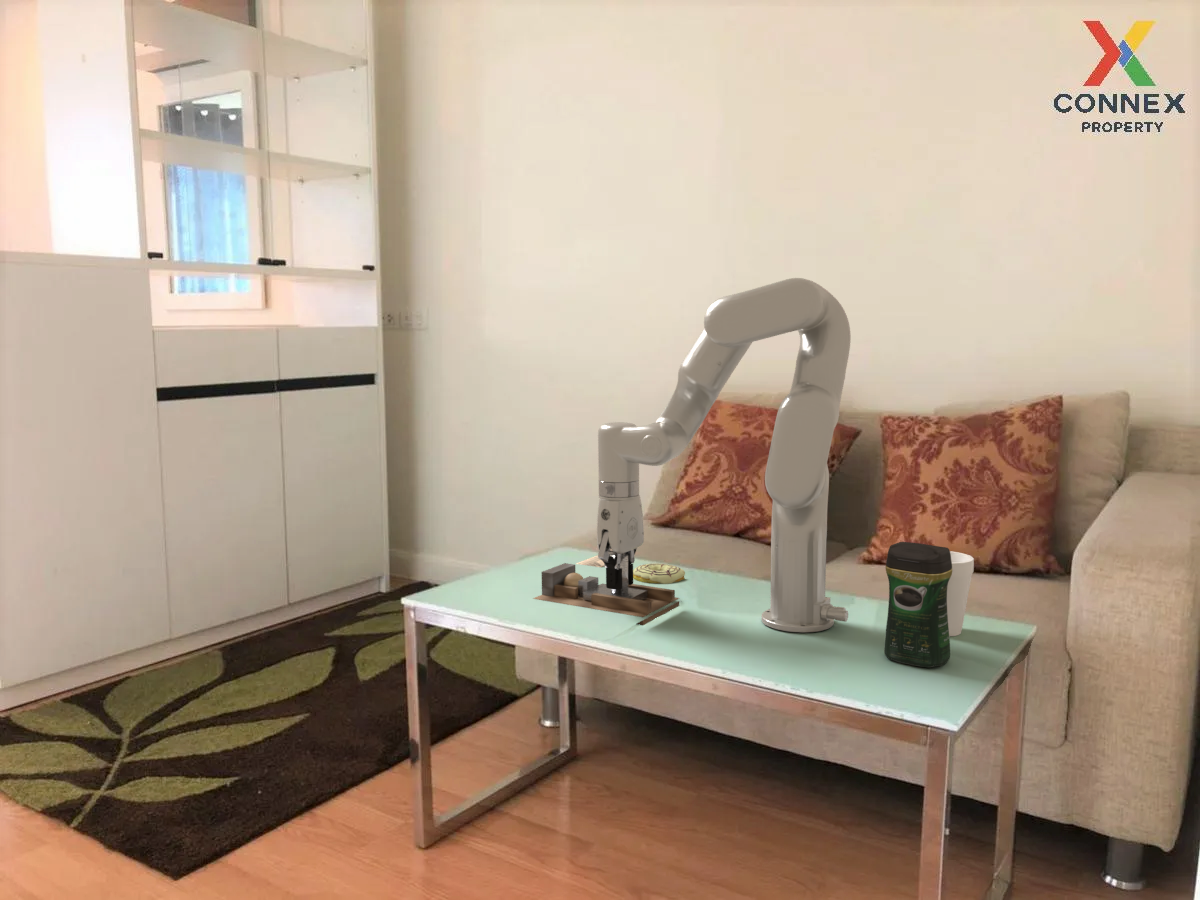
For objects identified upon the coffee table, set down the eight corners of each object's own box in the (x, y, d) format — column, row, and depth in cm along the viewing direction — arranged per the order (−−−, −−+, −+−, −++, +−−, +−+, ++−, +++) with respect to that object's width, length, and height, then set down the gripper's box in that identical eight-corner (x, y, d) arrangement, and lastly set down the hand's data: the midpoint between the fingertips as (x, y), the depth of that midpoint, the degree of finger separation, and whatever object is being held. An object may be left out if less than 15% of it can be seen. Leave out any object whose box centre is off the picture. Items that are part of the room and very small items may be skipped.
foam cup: (901, 626, 171) (903, 553, 169) (944, 619, 174) (946, 548, 173) (938, 642, 162) (941, 565, 161) (982, 635, 165) (985, 560, 164)
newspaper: (595, 560, 224) (595, 553, 224) (622, 564, 221) (622, 556, 220) (536, 584, 205) (536, 575, 204) (564, 588, 201) (564, 580, 201)
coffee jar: (956, 659, 154) (960, 543, 151) (936, 673, 148) (940, 553, 145) (897, 646, 160) (900, 535, 158) (876, 659, 154) (879, 544, 152)
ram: (647, 598, 184) (647, 553, 183) (629, 606, 178) (628, 561, 177) (593, 589, 190) (593, 546, 189) (574, 598, 185) (573, 553, 184)
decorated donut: (674, 594, 194) (674, 575, 193) (624, 588, 198) (624, 570, 198) (691, 581, 203) (691, 563, 203) (644, 576, 208) (643, 558, 207)
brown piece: (679, 605, 185) (679, 574, 184) (643, 625, 173) (642, 592, 172) (573, 589, 197) (573, 560, 197) (532, 606, 186) (532, 575, 185)
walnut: (588, 592, 190) (588, 571, 189) (577, 597, 186) (576, 576, 186) (571, 589, 192) (571, 569, 191) (559, 594, 188) (559, 573, 188)
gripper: (613, 498, 172) (614, 599, 174) (658, 484, 186) (658, 579, 188) (577, 494, 176) (579, 594, 178) (624, 481, 190) (624, 574, 192)
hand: (619, 585), depth 183 cm, fingers closed on ram, 3 cm apart
